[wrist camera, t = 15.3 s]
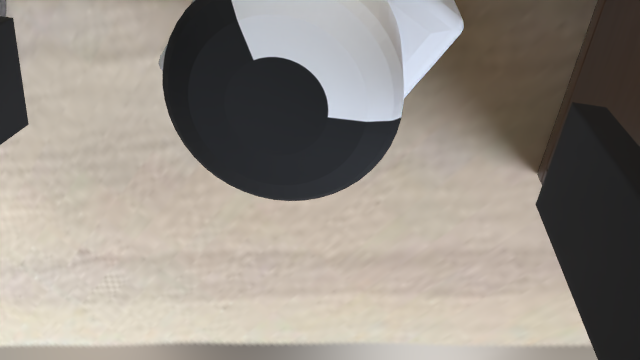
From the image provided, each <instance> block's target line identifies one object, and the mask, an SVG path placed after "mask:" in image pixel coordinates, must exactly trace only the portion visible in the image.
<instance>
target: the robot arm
mask: <svg viewBox="0 0 640 360" xmlns="http://www.w3.org/2000/svg"><path fill="white" fill-rule="evenodd" d="M27 125H28V118H27V111H26V104H25V97H24V91H23V84H22V77H21V70H20V63H19V56H18V49H17V43H16V36H15V29H14V22H13V18H9V17H6V0H0V145H1V144H2V143H3V142H5V141H6V140H8V139H9V138H10V137H12V136H13V135H14V134H16V133H17V132H19V131H20V130H21V129H23V128H24V127H25V126H27ZM536 206H537V209H538V211H539V214H540V216H541V219H542V221H543V224H544V226H545V229H546V231H547V234H548V236H549V239H550V241H551V244H552V246H553V249H554V251H555V254H556V256H557V259H558V261H559V264H560V266H561V269H562V271H563V274H564V276H565V279H566V281H567V284H568V286H569V289H570V291H571V294H572V296H573V299H574V301H575V304H576V306H577V309H578V311H579V314H580V316H581V319H582V321H583V324H584V326H585V329H586V331H587V334H588V336H589V339H590V341H591V343H592V346H593V348H594V351H595V353H596V356H597V358H598V360H640V147H639V146H638V144H637V143H636V142H635V141H634V140H633V138H632V137H631V136H630V135H629V134H628V133H627V131H626V130H625V129H624V128H623V127H622V125H621V124H620V123H619V122H618V121H617V119H616V118H615V117H614V116H613V115H612V113H611V112H610V111H609V110H608V109H607V107H602V106H595V105H588V104H582V103H575V102H572V104H571V107H570V110H569V112H568V115H567V118H566V121H565V124H564V126H563V129H562V132H561V135H560V138H559V140H558V143H557V146H556V149H555V152H554V155H553V157H552V160H551V163H550V166H549V169H548V171H547V174H546V177H545V180H544V183H543V185H542V188H541V191H540V194H539V197H538V200H537V202H536Z"/></svg>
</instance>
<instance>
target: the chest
mask: <svg viewBox="0 0 640 360" xmlns="http://www.w3.org/2000/svg"><path fill="white" fill-rule="evenodd" d="M572 102H575V103H582V104H588V105H595V106H602V107H607V109H608V110H609V111H610V112H611V113H612V115H613V116H614V117H615V118H616V119H617V121H618V122H619V123H620V124H621V125H622V127H623V128H624V129H625V130H626V131H627V133H628V134H629V135H630V136H631V137H632V138H633V140H634V141H635V142H636V143H637V144H638V146H639V147H640V0H598V2H597V5H596V8H595V10H594V13H593V16H592V19H591V22H590V25H589V28H588V30H587V33H586V36H585V39H584V42H583V45H582V48H581V51H580V53H579V56H578V59H577V62H576V65H575V68H574V71H573V73H572V76H571V79H570V82H569V85H568V88H567V91H566V94H565V96H564V99H563V102H562V105H561V108H560V111H559V114H558V117H557V119H556V122H555V125H554V128H553V131H552V134H551V137H550V139H549V142H548V145H547V148H546V151H545V154H544V157H543V160H542V162H541V165H540V168H539V171H538V177H539V179H540V182H541V183H542V185H543V183H544V180H545V177H546V174H547V171H548V169H549V166H550V163H551V160H552V157H553V155H554V152H555V149H556V146H557V143H558V140H559V138H560V135H561V132H562V129H563V126H564V124H565V121H566V118H567V115H568V112H569V110H570V107H571V104H572Z"/></svg>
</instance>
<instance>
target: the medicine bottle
mask: <svg viewBox="0 0 640 360" xmlns="http://www.w3.org/2000/svg"><path fill="white" fill-rule="evenodd" d="M463 28H464V24H463V19H462V17H461V15H460V12H459V10H458V8H457V5H456V3H455V1H454V0H193V2H192V4H191V5H190V6H189V7H188V8H187V9H186V10H185V12H184V13H183V15H182V16H181V18H180V19H179V20H178V22H177V24H176V26H175V28H174V30H173V32H172V34H171V36H170V38H169V42H168V44H167V46H166V47H165V49H164V51H163V52H162V54H161V56H160V60H159V66H160V68H161V69H162V70H163V90H164V97H165V102H166V106H167V109H168V113H169V116H170V118H171V121H172V123H173V125H174V127H175V130H176V131H177V133H178V135H179V137H180V138H181V140H182V142H183V143H184V145H185V146H186V147H187V148H188V150H189V151H190V152H191V154H192V155H193V156H194V157H195V158H196V159H197V160H198V161H199V162H200V163H201V164H202V165H203V166H204V167H205V168H206V169H207V170H209V171H210V172H211V173H212V174H214V175H215V176H216V177H218V178H219V179H221V180H223V181H224V182H226V183H227V184H229V185H231V186H233V187H235V188H237V189H240V190H242V191H244V192H247V193H250V194H253V195H256V196H259V197H264V198H269V199H273V200H285V201H299V200H309V199H315V198H320V197H324V196H327V195H331V194H334V193H336V192H338V191H341V190H343V189H345V188H347V187H349V186H350V185H352V184H354V183H355V182H357V181H359V180H360V179H361V178H363V177H364V176H365V175H366V174H367V173H369V172H370V171H371V170H372V169H373V168H374V167H375V166H376V165H377V164H378V162H379V161H380V160H381V159H382V158H383V156H384V155H385V153H386V152H387V150H388V149H389V147H390V146H391V143H392V141H393V139H394V137H395V135H396V133H397V130H398V127H399V124H400V120H401V117H402V110H403V103H404V98H405V97H406V96H407V95H408V93H409V92H410V91H411V90H412V89H413V88H414V87H415V85H416V84H417V83H418V82H419V81H420V80H421V79H422V77H423V76H424V75H425V74H426V73H427V72H428V71H429V69H430V68H431V67H432V66H433V65H434V64H435V63H436V61H437V60H438V59H439V58H440V57H441V56H442V55H443V53H444V52H445V51H446V50H447V49H448V48H449V47H450V45H451V44H452V43H453V42H454V41H455V40H456V39H457V37H458V36H459V35H460V34H461V32H462V30H463Z"/></svg>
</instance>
